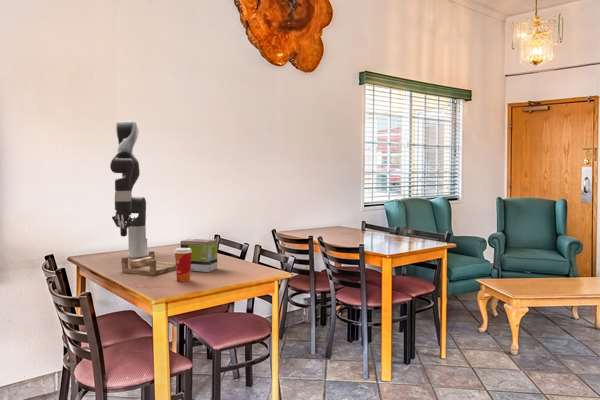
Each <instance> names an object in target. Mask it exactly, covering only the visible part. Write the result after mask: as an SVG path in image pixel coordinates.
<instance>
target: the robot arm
mask: <svg viewBox="0 0 600 400" xmlns="http://www.w3.org/2000/svg"><path fill="white" fill-rule="evenodd" d="M139 129H140V128H139V125H138V122H137V121H135V120H119V121H116V122H115V133H116V138H117V139H116V140H117V143H118V145H117V146H118V147H117V150H116V153H115V155H114V156H113V158H112V159H111V161H110V165H109V168H110V170H111V172H112V173H115V174H121V176H122V177H120V178H119V177H118V178H116V179H114V210H115V215H114V216H111V219H112V221H113V223H114V224H115V225H116V226H115V227H117V228H119V230H120V231H119V233H120V237H127V236H128V258H132V259H133V258H136V259H139V258H146V257H147V256H148V238H147V237H146V236H147V233H146V232H147V231H146V230H147V227H146V226H147V225H146V223H147V222H146V219H147V199H146V197H144V196H132V194H133V193H132V190H133V189H134V187H135V184H136V183H137V181H138V180H139V177H140V173H141V172H140V164H139V161H138V159H137V157H136V156H135V155H134V154H133V150H134V147H135V144H136V143H137V140H138V137H139V133H140V130H139ZM132 214H138V215H137V217H135V216H132ZM127 234H128V235H127Z"/></svg>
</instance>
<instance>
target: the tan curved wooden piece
mask: <svg viewBox="0 0 600 400" xmlns="http://www.w3.org/2000/svg"><path fill="white" fill-rule="evenodd" d="M150 260H156V254H155V255H151V256H150V257H149V256H145V257H141V258H136V259H134V260H130V261H129V262H130V263H129V266H130V267H131V268H136V267H140V266H144V265H148V264H150Z"/></svg>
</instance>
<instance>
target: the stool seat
mask: <svg viewBox="0 0 600 400" xmlns="http://www.w3.org/2000/svg"><path fill="white" fill-rule="evenodd" d="M151 255H155V256H156V254H155V251H154V250H151V251H149V250H148V257H150V256H151ZM172 271H173V272H174V271H176V262H166V261H157V260H156V259H155V260H150V264H148V265H144V266H140V267H136V268H131V267H130V265H129V256H122V257H121V273H125V274H126V273H127V274H133V275H142V276H149V277H150V276H151V277H155V276H159V275H162V274H166V273H169V272H172Z"/></svg>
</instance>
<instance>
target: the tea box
mask: <svg viewBox="0 0 600 400" xmlns="http://www.w3.org/2000/svg"><path fill="white" fill-rule="evenodd" d="M180 248H186V249H187V248H191V251H192V252H191V271H190V272H203V273H210V272H212V271H215V270H217V269H218V239H215V238H194V237H193V238H192V237H191V238H187V239H182V240H180Z"/></svg>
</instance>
